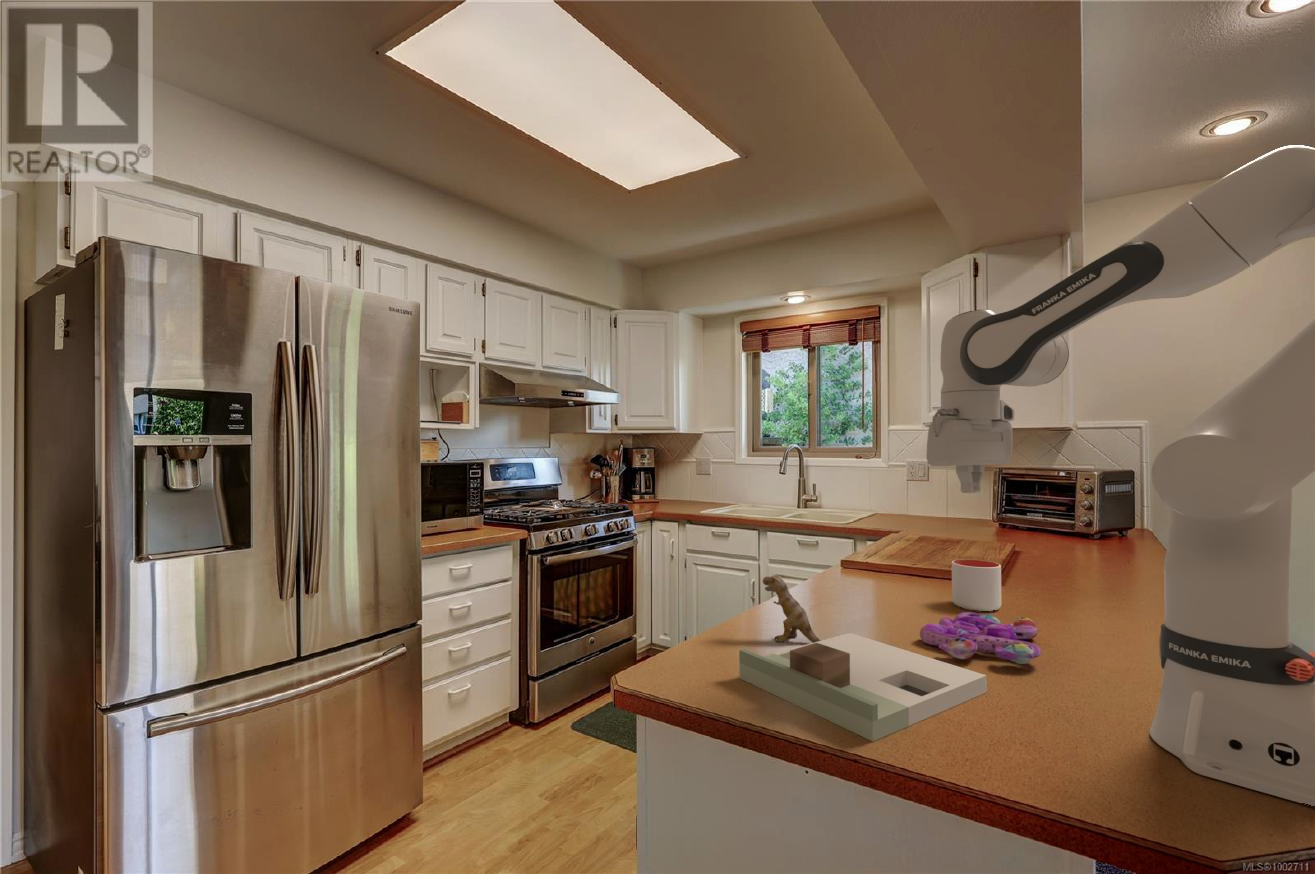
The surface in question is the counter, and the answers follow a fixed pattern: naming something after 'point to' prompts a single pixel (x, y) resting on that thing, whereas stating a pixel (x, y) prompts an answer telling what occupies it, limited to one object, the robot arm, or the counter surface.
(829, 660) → the walnut block
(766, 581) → the toy
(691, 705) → the counter surface
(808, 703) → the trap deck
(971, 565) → the cup
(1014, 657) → the decorative sculpture
